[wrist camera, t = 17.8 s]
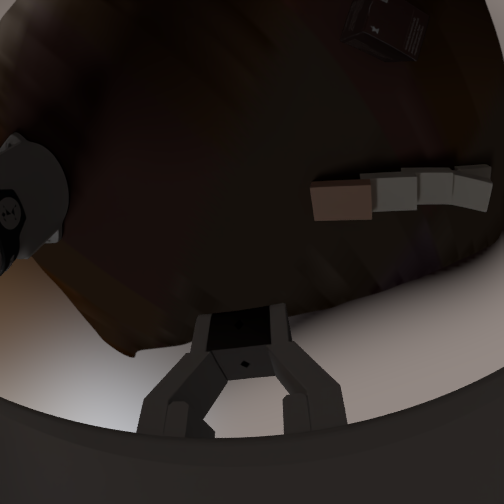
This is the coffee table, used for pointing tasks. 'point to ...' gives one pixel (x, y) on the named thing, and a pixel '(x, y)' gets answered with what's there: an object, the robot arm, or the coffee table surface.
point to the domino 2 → (393, 190)
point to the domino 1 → (341, 200)
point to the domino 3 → (433, 185)
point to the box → (386, 29)
